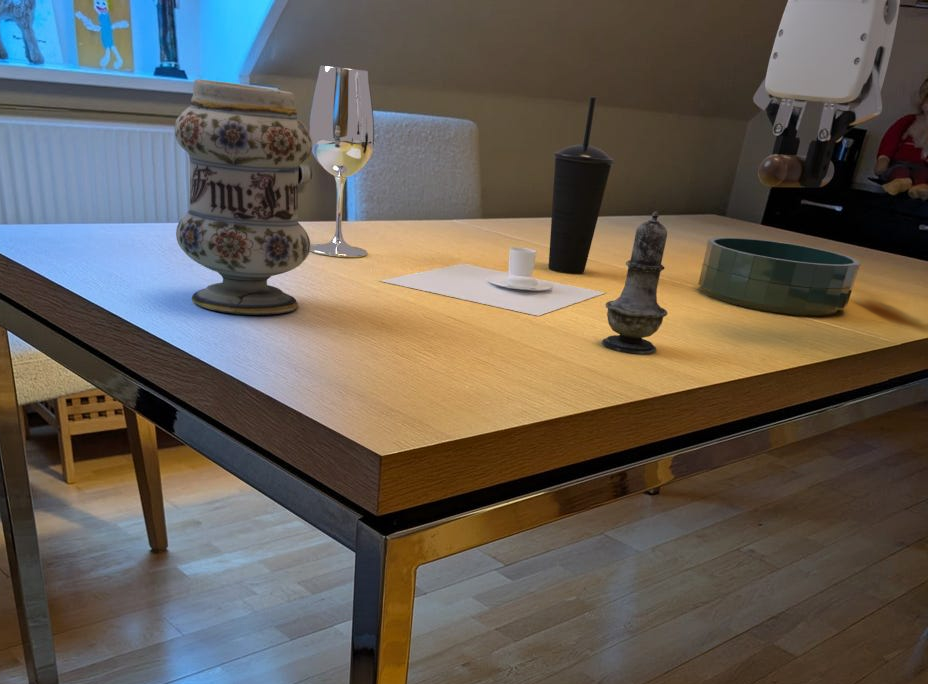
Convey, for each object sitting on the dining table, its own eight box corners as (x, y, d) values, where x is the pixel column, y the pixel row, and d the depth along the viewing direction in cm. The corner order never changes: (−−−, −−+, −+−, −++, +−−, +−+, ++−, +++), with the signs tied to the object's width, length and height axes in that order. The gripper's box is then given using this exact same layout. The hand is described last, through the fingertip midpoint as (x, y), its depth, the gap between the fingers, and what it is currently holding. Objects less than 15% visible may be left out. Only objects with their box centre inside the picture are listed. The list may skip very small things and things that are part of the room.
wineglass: (376, 252, 119) (385, 73, 108) (357, 260, 112) (366, 70, 102) (319, 243, 120) (323, 65, 109) (297, 251, 113) (300, 63, 103)
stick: (809, 186, 95) (816, 156, 94) (834, 188, 93) (842, 158, 92) (749, 185, 88) (756, 152, 87) (775, 188, 86) (782, 154, 85)
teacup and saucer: (532, 298, 103) (537, 259, 101) (471, 285, 106) (474, 247, 104) (563, 289, 110) (568, 252, 107) (504, 276, 112) (508, 241, 110)
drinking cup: (535, 271, 119) (560, 93, 108) (540, 262, 125) (563, 94, 115) (593, 278, 118) (624, 101, 108) (595, 269, 124) (624, 101, 114)
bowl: (815, 293, 126) (829, 247, 123) (866, 324, 110) (884, 271, 107) (683, 279, 125) (694, 232, 122) (716, 307, 109) (729, 254, 106)
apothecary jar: (334, 313, 87) (342, 95, 78) (227, 324, 80) (220, 84, 70) (261, 286, 94) (259, 83, 85) (155, 294, 86) (141, 72, 77)
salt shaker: (586, 342, 87) (610, 205, 81) (620, 335, 91) (645, 204, 85) (638, 357, 84) (667, 216, 78) (670, 350, 88) (701, 215, 82)
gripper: (962, -38, 78) (888, 196, 88) (793, -38, 88) (743, 174, 98) (925, -53, 74) (852, 196, 84) (752, -50, 84) (704, 172, 93)
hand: (794, 182), depth 91 cm, fingers closed on stick, 2 cm apart
